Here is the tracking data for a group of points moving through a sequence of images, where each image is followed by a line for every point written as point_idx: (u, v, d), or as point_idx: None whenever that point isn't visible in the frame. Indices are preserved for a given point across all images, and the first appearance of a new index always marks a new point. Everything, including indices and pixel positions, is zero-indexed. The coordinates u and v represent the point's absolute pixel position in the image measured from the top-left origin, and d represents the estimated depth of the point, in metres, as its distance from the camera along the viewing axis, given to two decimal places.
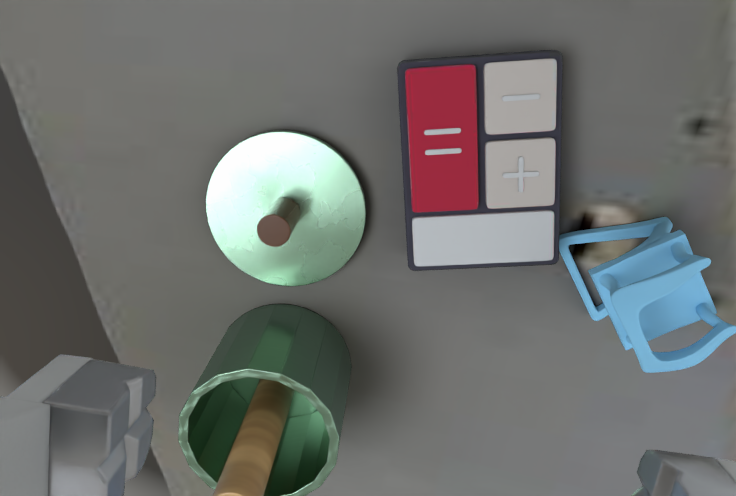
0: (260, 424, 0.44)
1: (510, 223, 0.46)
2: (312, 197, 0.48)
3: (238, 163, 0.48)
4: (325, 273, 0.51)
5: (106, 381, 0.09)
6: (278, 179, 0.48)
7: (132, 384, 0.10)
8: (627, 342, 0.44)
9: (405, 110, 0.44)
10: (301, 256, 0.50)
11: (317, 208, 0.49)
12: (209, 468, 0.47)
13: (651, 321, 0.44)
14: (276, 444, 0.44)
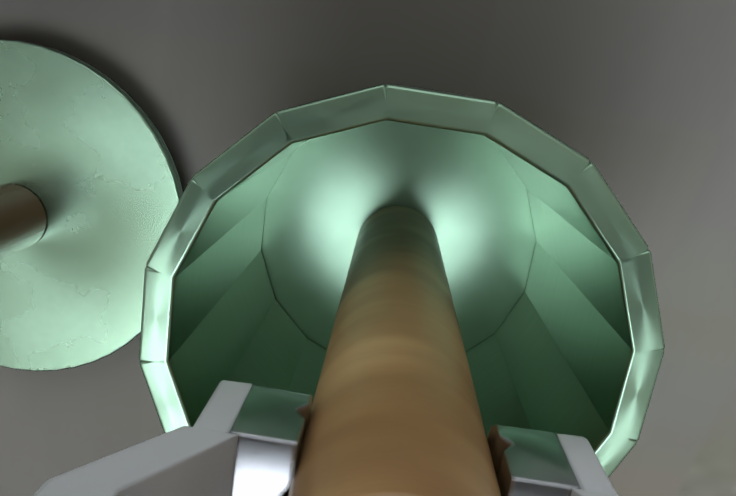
0: None
1: None
2: None
3: None
4: (143, 136, 0.22)
5: (278, 408, 0.09)
6: None
7: (301, 411, 0.10)
8: None
9: None
10: (108, 187, 0.23)
11: None
12: None
13: None
14: (387, 302, 0.13)
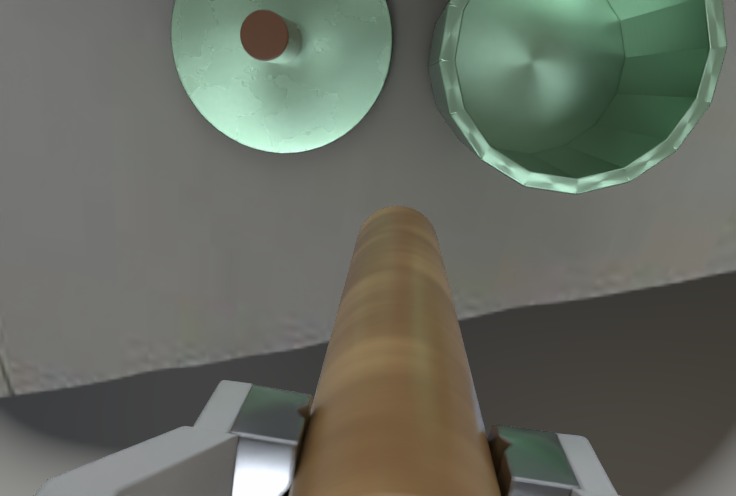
0: (329, 343, 0.14)
1: None
2: None
3: (216, 102, 0.36)
4: None
5: (278, 408, 0.09)
6: (234, 47, 0.36)
7: (301, 411, 0.10)
8: None
9: None
10: (345, 20, 0.35)
11: None
12: (641, 151, 0.27)
13: None
14: (387, 303, 0.13)
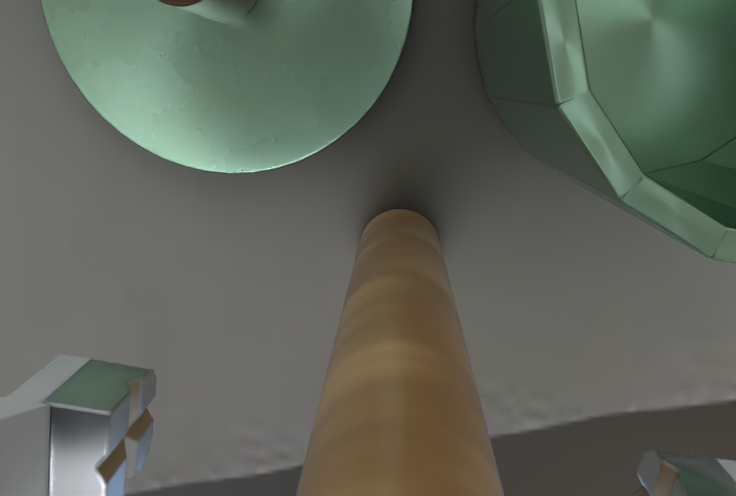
0: (333, 346, 0.14)
1: None
2: None
3: (118, 89, 0.22)
4: None
5: (106, 381, 0.09)
6: None
7: (132, 384, 0.10)
8: None
9: None
10: None
11: None
12: None
13: None
14: (392, 307, 0.13)
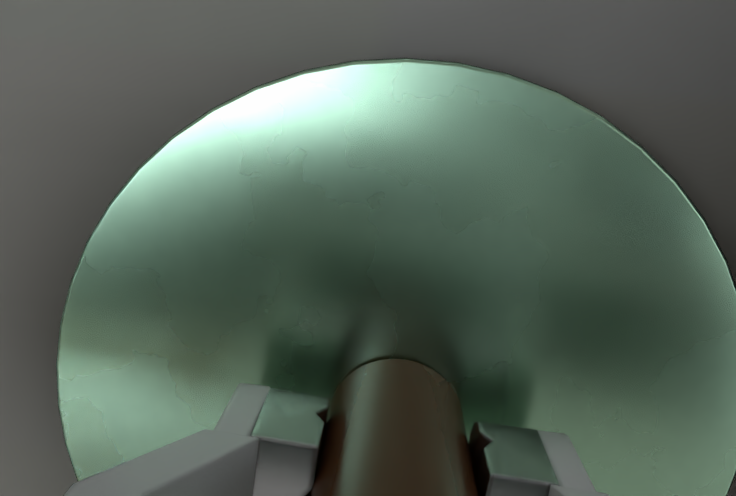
0: None
1: None
2: (521, 359, 0.11)
3: (197, 209, 0.11)
4: None
5: (296, 411, 0.09)
6: (375, 280, 0.11)
7: (319, 414, 0.10)
8: None
9: None
10: None
11: (536, 406, 0.11)
12: None
13: None
14: None
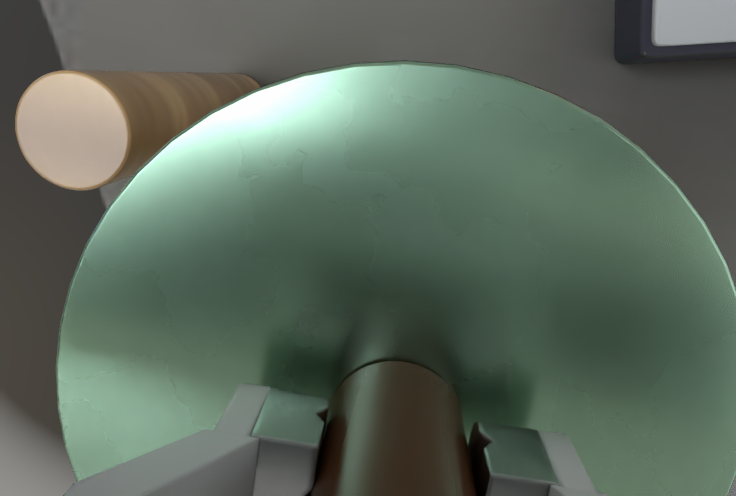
0: (174, 73, 0.22)
1: None
2: (520, 362, 0.11)
3: (197, 211, 0.11)
4: None
5: (296, 412, 0.09)
6: (375, 282, 0.11)
7: (319, 414, 0.10)
8: None
9: None
10: None
11: (536, 409, 0.11)
12: None
13: None
14: (204, 111, 0.22)
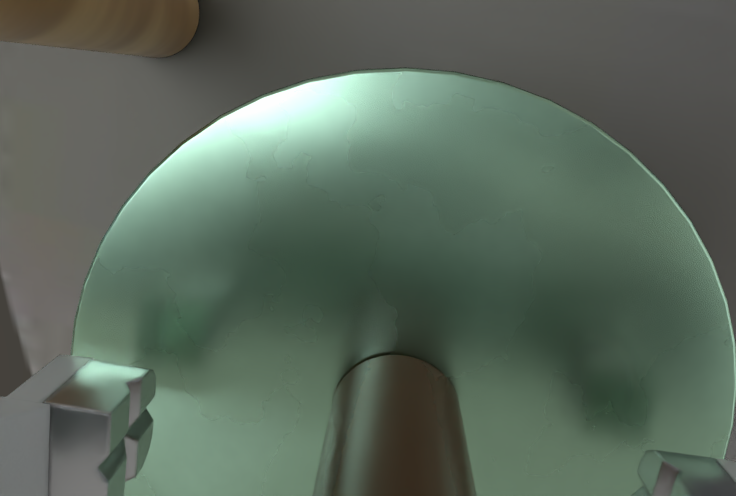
0: None
1: None
2: (516, 355, 0.12)
3: (205, 211, 0.11)
4: None
5: (106, 381, 0.09)
6: (376, 279, 0.11)
7: (132, 384, 0.10)
8: None
9: None
10: None
11: (530, 400, 0.12)
12: None
13: None
14: None
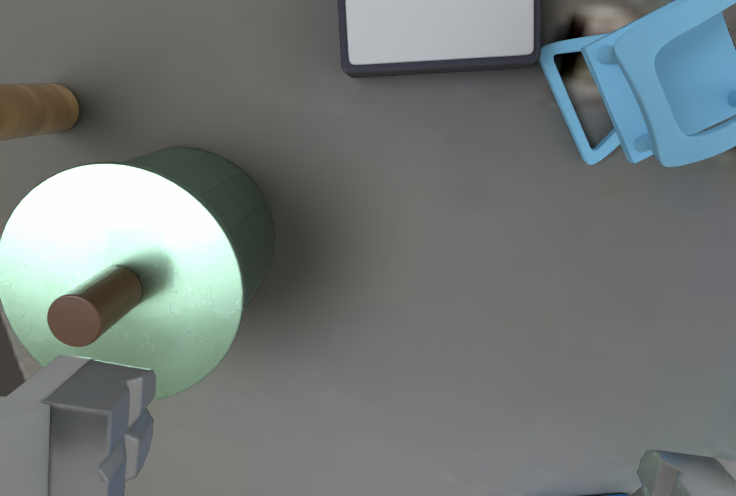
0: None
1: (476, 1, 0.34)
2: (160, 266, 0.31)
3: (43, 212, 0.31)
4: (184, 383, 0.33)
5: (106, 381, 0.09)
6: (106, 237, 0.31)
7: (132, 384, 0.10)
8: (635, 151, 0.33)
9: None
10: (146, 356, 0.32)
11: (167, 283, 0.31)
12: None
13: None
14: None
